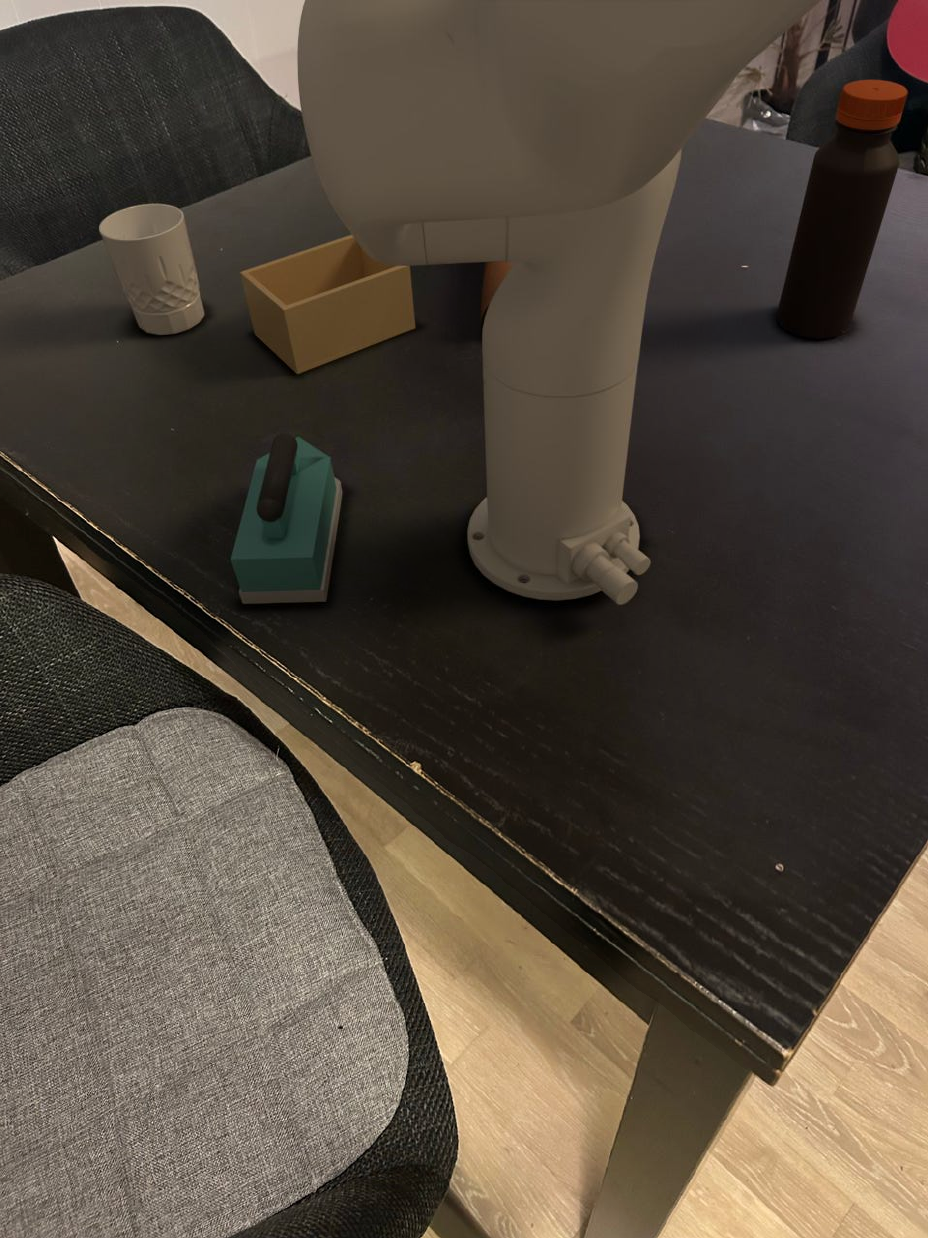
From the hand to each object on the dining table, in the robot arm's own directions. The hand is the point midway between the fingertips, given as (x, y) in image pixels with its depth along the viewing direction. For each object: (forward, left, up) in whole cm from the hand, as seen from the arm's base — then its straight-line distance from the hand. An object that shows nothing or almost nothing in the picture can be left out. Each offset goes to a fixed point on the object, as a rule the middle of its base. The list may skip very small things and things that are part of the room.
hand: (537, 11), depth 59 cm
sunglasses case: (+13, -9, -28) cm, 33 cm away
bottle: (-9, -27, -28) cm, 40 cm away
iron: (-5, +27, -28) cm, 39 cm away
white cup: (+32, +22, -28) cm, 48 cm away
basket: (+19, +10, -28) cm, 36 cm away
